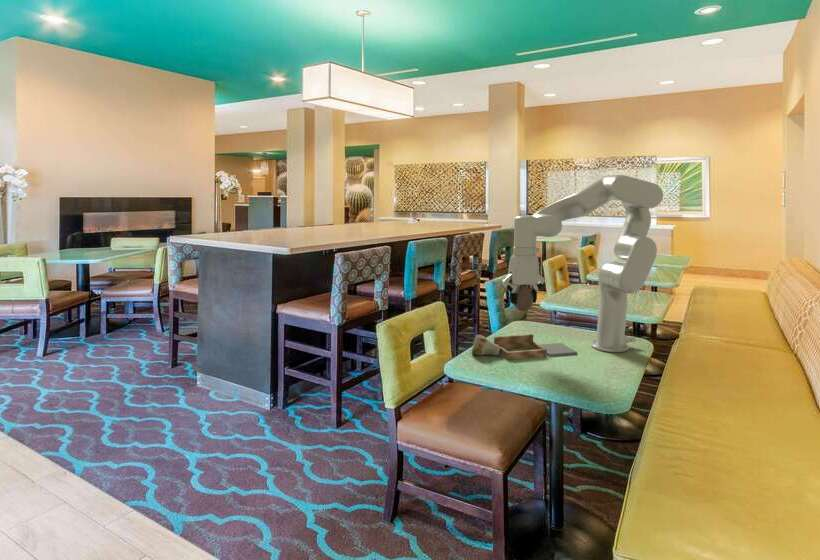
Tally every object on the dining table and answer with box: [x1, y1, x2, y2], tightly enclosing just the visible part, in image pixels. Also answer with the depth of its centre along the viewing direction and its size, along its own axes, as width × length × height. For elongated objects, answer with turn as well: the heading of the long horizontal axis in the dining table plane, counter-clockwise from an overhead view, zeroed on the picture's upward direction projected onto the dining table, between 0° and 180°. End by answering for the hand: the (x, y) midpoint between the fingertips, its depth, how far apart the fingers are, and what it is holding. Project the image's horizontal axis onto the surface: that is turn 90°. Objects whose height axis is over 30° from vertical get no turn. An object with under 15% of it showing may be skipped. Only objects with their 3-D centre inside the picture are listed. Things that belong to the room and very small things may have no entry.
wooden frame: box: [493, 333, 548, 361], centre depth 186 cm, size 15×11×5 cm
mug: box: [471, 334, 500, 357], centre depth 184 cm, size 8×10×10 cm
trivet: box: [539, 342, 578, 357], centre depth 190 cm, size 11×11×1 cm
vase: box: [513, 285, 534, 312], centre depth 183 cm, size 7×7×9 cm
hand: (523, 302), depth 183 cm, fingers closed on vase, 6 cm apart
